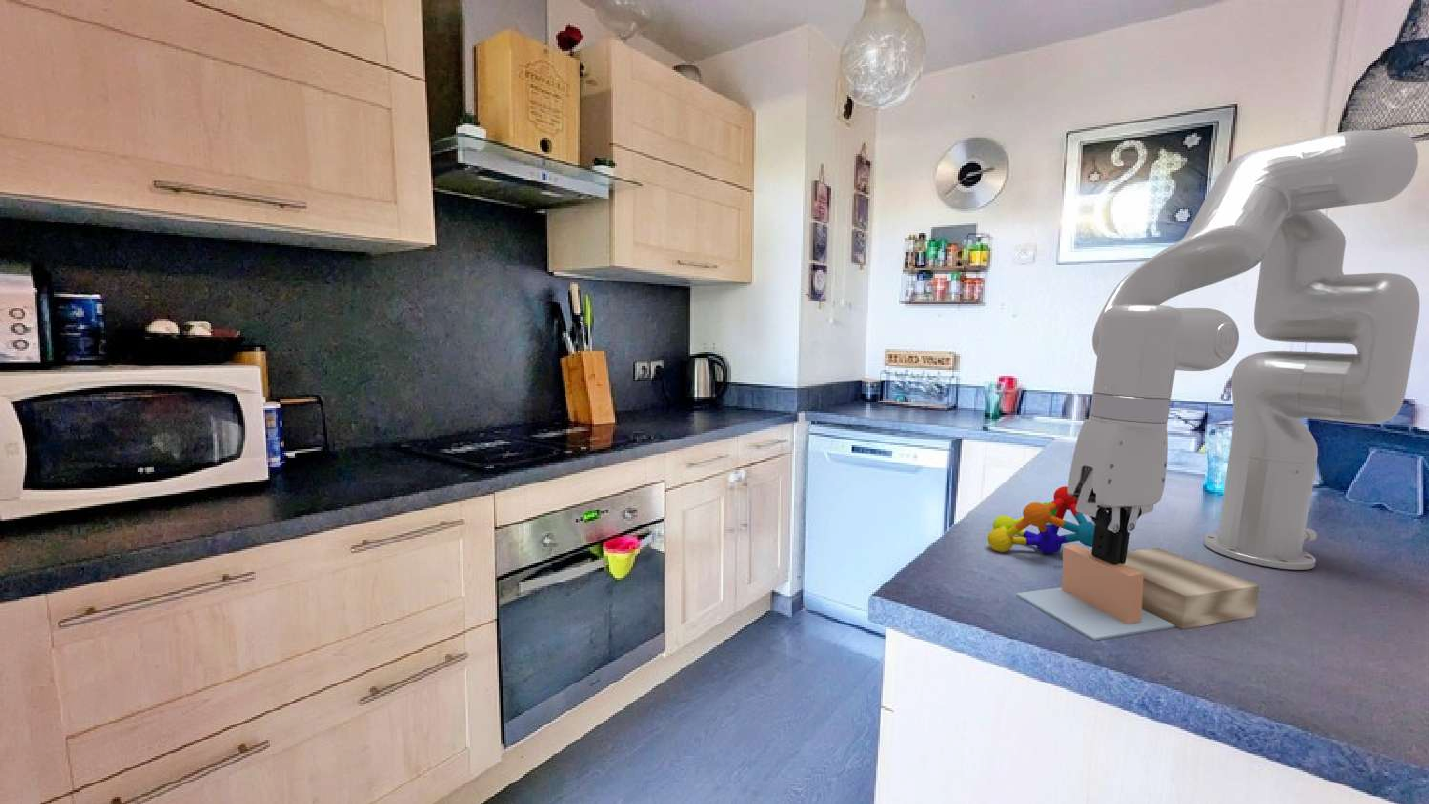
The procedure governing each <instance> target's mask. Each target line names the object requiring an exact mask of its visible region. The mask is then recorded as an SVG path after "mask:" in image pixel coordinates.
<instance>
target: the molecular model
mask: <svg viewBox="0 0 1429 804" xmlns="http://www.w3.org/2000/svg"><path fill="white" fill-rule="evenodd" d="M1077 502H1078V498H1073V497H1071V496H1070V495H1069V494H1068V485H1067V486H1066V485H1065V486H1061V487H1058V488H1057V489H1055V490H1054V493H1053V500H1052V501H1050V502H1047V501H1046V502H1043V503H1041V502H1038V501H1033V502H1030V503H1028V504H1026V506H1025V507H1024V508H1023V512H1022V514H1023V516H1022V517H1019V518H1016V519H1013V518H1012V517H1010V516H1007V515H999V516H998V517H996V518H995V519H994V520H993V522H992V530H990V531H989V533H988V535H987V542H988V545H989V547H991V549H993V550H994V551H997V552H999V553H1000V552H1001V553H1004V552H1007V551H1009V550H1010V549H1012V547H1013V546H1015V545H1016V546H1017V545H1018V546H1036V548H1037V549H1038V550H1039V551H1041V552H1042V553H1044V554H1047V555H1053V554H1055V553H1058V552H1059V551H1060V550H1061V549H1062V547H1063V546H1062V545H1063V544H1070V543H1073V542H1080V543H1081V544H1082V545H1083V546H1086V547H1089V548H1092V543H1093V535H1094V528H1095V525H1092V523H1091V521H1088V520H1087V519H1086V517H1085V514H1082V513H1080V512H1077V511H1076V505H1077ZM1067 511H1070V512H1071V514H1072V516H1073V517H1074V519H1075V521H1076V522H1077V523H1078V524H1076V523H1073V522H1070V521H1068V520H1066V519H1064V517H1065V515H1066V514H1067ZM1029 526H1033V527H1036V528H1037V529H1038V533H1034V532H1032V531H1030V530H1029V531H1028V530H1026V528H1027V527H1029ZM1060 528H1062V529H1063V530H1067V531H1069V532H1072V533H1068V534H1067V533H1066V534H1063V535H1059V534H1058V532H1059V530H1060ZM1015 535H1016V536H1015Z"/></svg>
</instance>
